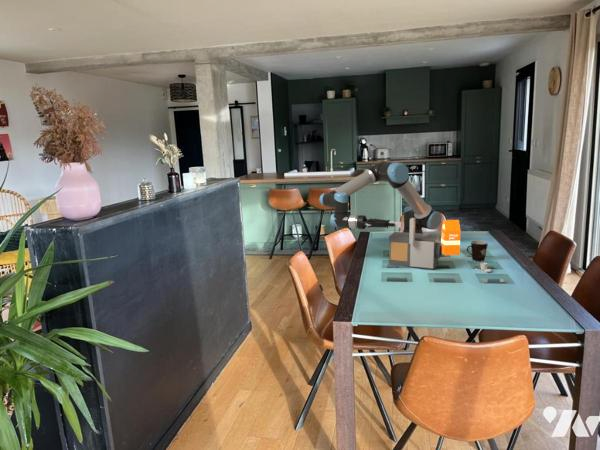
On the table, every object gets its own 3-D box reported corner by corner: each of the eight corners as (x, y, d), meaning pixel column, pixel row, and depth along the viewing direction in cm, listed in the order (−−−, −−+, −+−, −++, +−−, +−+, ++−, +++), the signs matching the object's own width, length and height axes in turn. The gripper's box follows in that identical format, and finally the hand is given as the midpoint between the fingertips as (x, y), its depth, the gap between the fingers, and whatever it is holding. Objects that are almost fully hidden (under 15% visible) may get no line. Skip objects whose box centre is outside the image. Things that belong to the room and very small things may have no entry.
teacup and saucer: (493, 274, 229) (494, 266, 228) (477, 273, 231) (477, 265, 230) (490, 268, 237) (490, 261, 237) (474, 268, 239) (474, 260, 238)
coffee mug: (484, 257, 256) (485, 240, 254) (488, 262, 248) (489, 244, 245) (462, 257, 257) (463, 240, 255) (466, 262, 249) (467, 244, 247)
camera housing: (394, 259, 258) (394, 229, 255) (442, 263, 247) (443, 233, 243) (388, 264, 248) (389, 234, 244) (438, 270, 236) (439, 238, 233)
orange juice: (459, 254, 263) (461, 221, 259) (444, 255, 263) (445, 221, 259) (455, 251, 270) (456, 218, 266) (440, 251, 271) (441, 218, 267)
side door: (410, 265, 242) (411, 217, 237) (433, 267, 237) (435, 219, 232) (408, 267, 239) (409, 219, 233) (432, 270, 233) (433, 220, 228)
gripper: (361, 226, 254) (404, 229, 244) (354, 231, 243) (398, 234, 232) (361, 213, 252) (404, 215, 242) (354, 217, 241) (398, 220, 231)
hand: (401, 224), depth 237 cm, fingers closed
